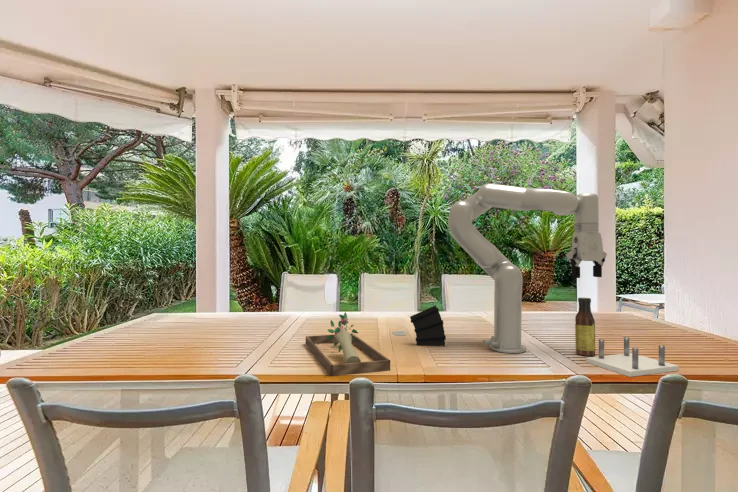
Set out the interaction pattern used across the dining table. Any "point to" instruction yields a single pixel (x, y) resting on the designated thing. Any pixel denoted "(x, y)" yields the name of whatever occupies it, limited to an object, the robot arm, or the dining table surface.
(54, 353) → the dining table surface
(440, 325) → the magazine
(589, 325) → the sauce bottle
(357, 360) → the flower vase
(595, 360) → the standoff base
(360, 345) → the wooden frame
